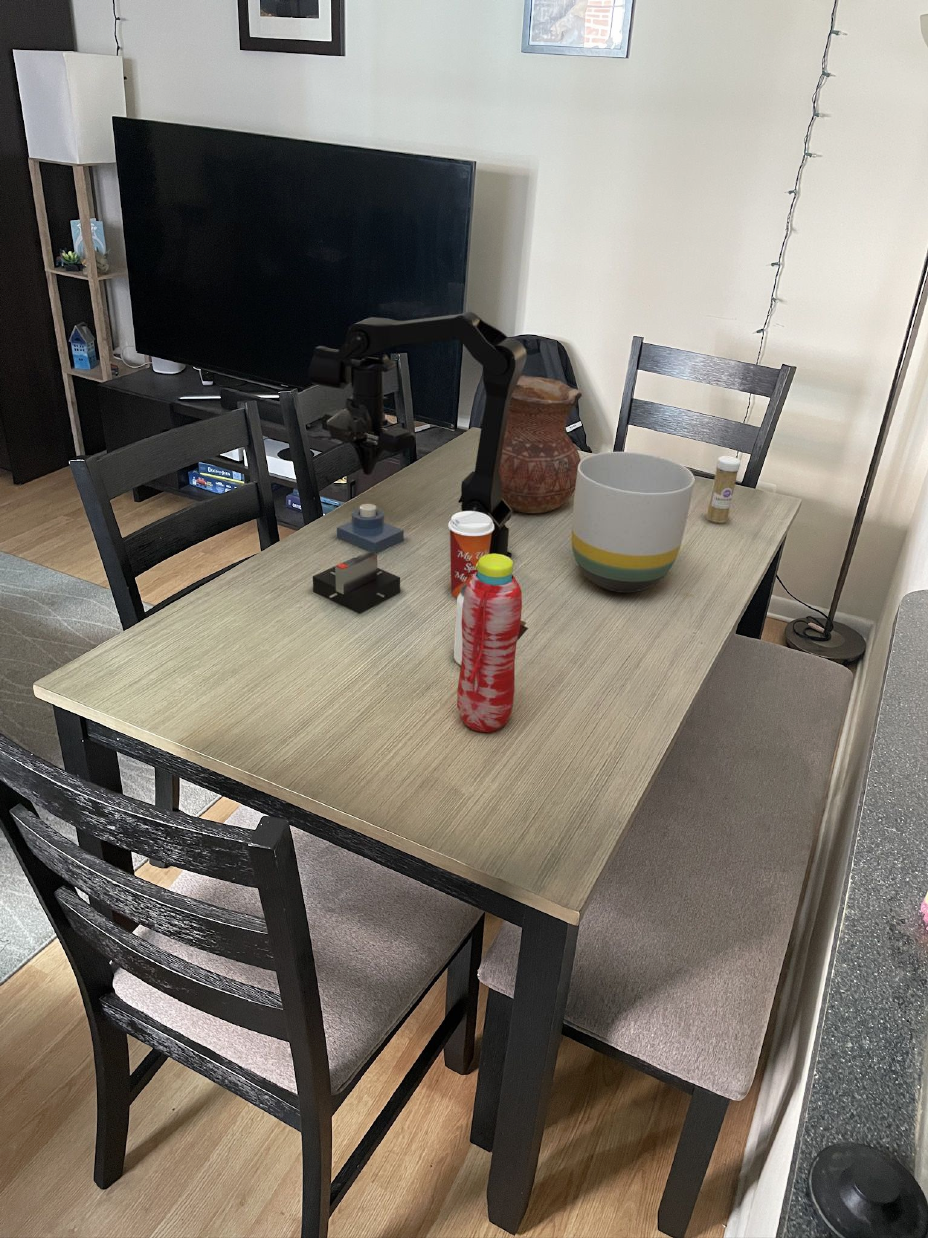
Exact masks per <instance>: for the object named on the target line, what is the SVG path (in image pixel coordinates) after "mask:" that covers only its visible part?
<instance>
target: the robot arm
mask: <svg viewBox="0 0 928 1238" xmlns="http://www.w3.org/2000/svg"><path fill="white" fill-rule="evenodd" d="M448 341H459V342H460V343H461V344H462V345H463V346H464V347H465V349H466V350H467V351H468V353H469V354H470V356H471V357H472V358H473V359H474V360H476V361H477V362H478V364H480V365H481V366H482V383H483V387H484V391H485V400H484V401H485V402H484V409H483V414H482V421H481V428H480V433H479V440H478V447H477V448H478V449H477V453H476V459H475V460H476V461H475V467H474V471H473V470H472V471H471V472H470V473H469V474H468V475H467V476H466V477H465V478H464V479H463V480H462V481H461V485H460V490H461V492H460V493H461V494H460V498H459V499H458V504H461V505H460V510H461V512H463V511H476V512H480V513H484V514H486V515H488V516H489V517H490V518H491V519H492V521H493V524H494V530H493V531H492V535H491V542H490V550H489V554H501V555H504V556H507V557H509V558H510V557H512V554H513V553H512V552H511V551H509V550H508V547H509V536H510V535H509V533H510V528H509V527H507V525H506V524H507V522H509V520H510V519H511V517H512V515H513V513H514V511H513V510H512V509H511V508H510V507H509V505H508V504H507V503H506V502H505V501H504V499H503V498H502V482H501V477H500V473H499V467H500V461H501V456H502V450H503V444H504V438H505V432H506V426H507V420H508V414H509V408H510V402H511V396H512V394H513V391H514V389H515V387H516V385H517V383H518V380H519V378H520V376H522V373H523V371H524V367H525V365H526V362H527V358H528V357H527V349H526V348H525V346H524V345H523V344H522V343H521V341H520V340H518V339H515V338H513V337H509V336H508V335H506V334H505V333H504V332H503V331H501V330H500V329H498V328H496V327H495V326H493V325H492V324H490V323H488V322H486V321H484V320H483V319H482V318H481V317H480V316H479V315H477V314H476V313H475V312H473V311H465V312H463V313H457V314H448V315H442V316H433V317H424V318H416V319H407V320H397V319H396V320H395V319H391V318H388V317H387V318H385V317H375V316H374V317H373V316H372V317H368V318H365V319H363V320H361V321H358V322H356V323H354V324H351V325H350V326H349V327H348V329H347V331H346V334H345V341H344V343H343V344H342V345H341V347H340V348H339V349H336V348H330V347H327V346H324V345H319V346H317V347H314V350H313V351H314V352H313V353H314V354H313V356H312V358H311V361H310V364H309V367H308V378H309V380H310V383H311V384H313V385H315V386H321V387H327V388H335V389H341V390H343V389H346V387H347V386H348V385H350V384H351V385H350V388H351V396H349V397H346V400H345V407H344V409H343V408H341V409H337V410H333V411H330V412H326V413H324V415H323V416H322V419H321V429H322V430H324V431H327V432H328V433H329V436H330V438H331V439H332V440H335V441H336V440H337V441H340V442H341V443H344V444H350V445H351V446H353V448H354V450H355V453H356V455H357V457H358V461H359V463H360V466H361V469H362V472H363V474H364V475H367V476H370V475H372V474H373V471H374V469H375V467H376V464H377V463H378V460H379V459H380V456H381V455H382V453H383V451H384V452H385V451H386V452H388V453H392V454H394V453H396V454H397V453H399V452H402V451H405V450H407V449H410V448H413V447H415V445H416V435H415V433H414V432H413V431H412V430H410V429H406V428H403V427H400V426H396V427H393V428H389V429H387V428H384V427H386V426H388V425H389V419H387V418H384V405H386V404H388V403H389V397H387V396H384V373H388V372H389V371H391V370H393V369H395V367H396V363H394V362H393V361H392V360H391V359H390V358H389V357H388V355H387V354H383V355H381V356H380V357H379V358H378V357H372V356H374V355H376V354H380V353H383V352H385V351H388V350H391V349H394V348H397V347H402V346H412V345H419V344H420V345H421V344H428V343H430V344H431V343H439V342H448ZM356 357H357V358H362V359H354V358H356Z"/></svg>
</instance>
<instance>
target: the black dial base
mask: <svg viewBox="0 0 928 1238" xmlns="http://www.w3.org/2000/svg"><path fill="white" fill-rule="evenodd" d="M353 558H354V557H352V558H349V559H348V560H345V561H343V562H342V563H344V562H347V561H349V560H351V559H353ZM337 565H338V564H336V565H335V566H337ZM335 566H331V567H330V568H328V569H326V570H323V571H321V572H319V573H316V574H314V575H312V592H313V593H315V594H317V595H319V596H321V597H324V598H326V599H327V600H329V601H331V602H334V603H336V604H338V605H339V606H342V607H344V608H346V609H349V610H350V611H353V612H354V613H357V614H360V615H361V614H362V613H364V612H366V611H368V610H370V609H371V608H374V607H375V606H377V605H379V604H381V603H383V602H385V601H387V600H389V599H391V598H393V597H395V596H396V595H398V594H401V577H400V576H399V575H396V574H393V573H391V572H389V571H386V570H384V569H381V568H380V567H377V578H376V579H374V580H372V581H370V582H368V583H366V584H364V585H362V586H360V587H358V588H356V589H353V590H351V591H349V592H347V593H345V594H342V593H340V592H337V591H336V577H335Z"/></svg>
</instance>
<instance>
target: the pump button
mask: <svg viewBox="0 0 928 1238" xmlns="http://www.w3.org/2000/svg"><path fill="white" fill-rule="evenodd" d="M359 508H360V516H362V517H374V516H376V508H377V506H376V505H375V504H373V503H363V504H360V505H359Z"/></svg>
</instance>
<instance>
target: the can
mask: <svg viewBox="0 0 928 1238" xmlns="http://www.w3.org/2000/svg"><path fill="white" fill-rule="evenodd" d="M467 585H468V583H467V584H465V585H463V586H462V587H461V589H460V594H459V596H458V598H456V608H455V609H456V610H455V628H454V646H453V648H454V649H453V658H454V661H455V662H456V663H457V664H458V665H459V667H461V662H462V645H463V642H462V608H463V600H464V595H465V590H466V587H467Z"/></svg>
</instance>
